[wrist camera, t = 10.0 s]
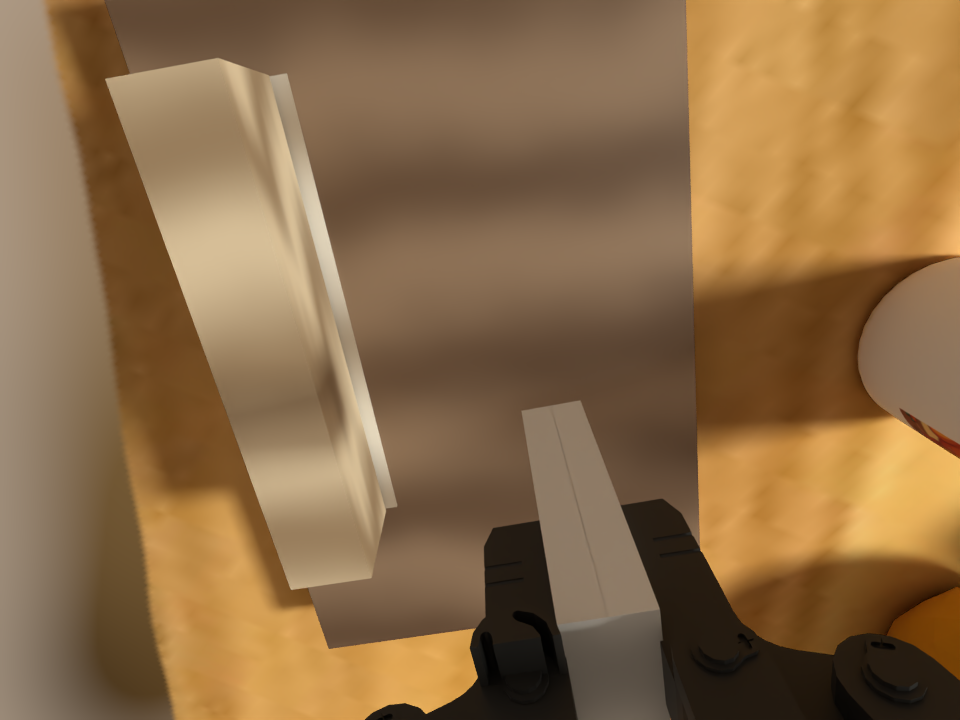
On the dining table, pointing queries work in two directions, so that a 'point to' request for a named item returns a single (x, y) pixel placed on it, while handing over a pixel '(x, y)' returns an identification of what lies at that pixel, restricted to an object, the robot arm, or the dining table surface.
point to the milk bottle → (918, 353)
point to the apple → (934, 629)
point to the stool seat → (478, 252)
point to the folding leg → (258, 306)
